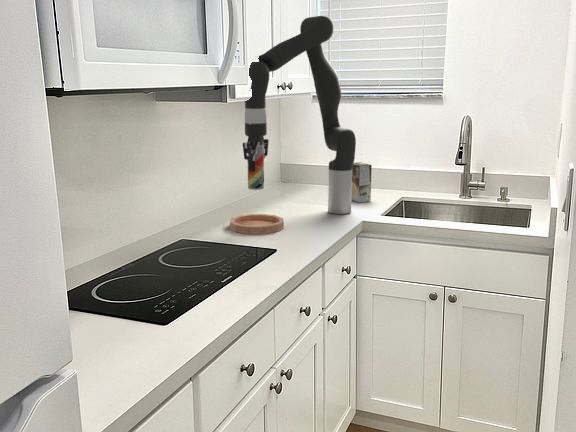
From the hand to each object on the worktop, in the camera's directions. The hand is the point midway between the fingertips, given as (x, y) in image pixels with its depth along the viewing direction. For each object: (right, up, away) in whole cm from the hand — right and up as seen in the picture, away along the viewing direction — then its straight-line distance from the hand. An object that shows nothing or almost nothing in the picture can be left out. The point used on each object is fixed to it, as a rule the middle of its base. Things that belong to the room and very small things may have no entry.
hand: (256, 170), depth 202 cm
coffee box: (+42, -9, +50) cm, 66 cm away
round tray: (0, -20, +5) cm, 21 cm away
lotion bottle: (0, -7, +2) cm, 7 cm away
